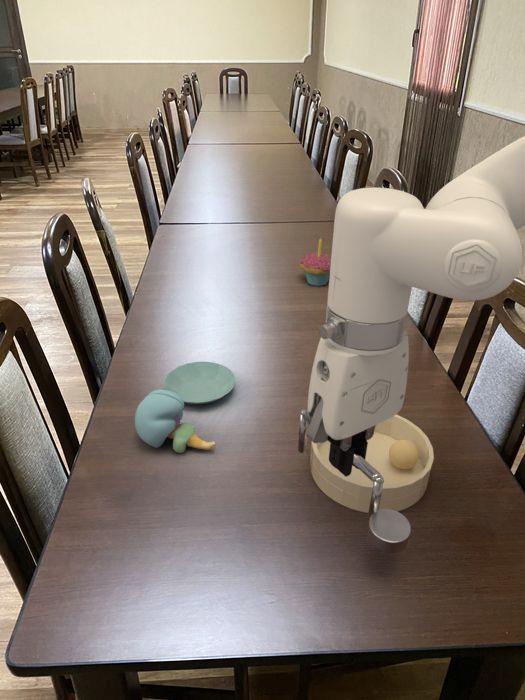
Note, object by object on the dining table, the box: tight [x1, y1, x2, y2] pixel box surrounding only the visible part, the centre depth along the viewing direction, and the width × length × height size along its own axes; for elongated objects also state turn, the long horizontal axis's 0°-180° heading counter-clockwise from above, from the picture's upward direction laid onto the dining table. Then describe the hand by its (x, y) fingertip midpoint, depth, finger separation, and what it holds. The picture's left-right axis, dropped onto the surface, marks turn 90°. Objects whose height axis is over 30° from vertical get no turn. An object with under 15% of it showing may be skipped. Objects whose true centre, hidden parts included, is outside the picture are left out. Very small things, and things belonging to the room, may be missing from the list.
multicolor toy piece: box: [134, 388, 216, 454], centre depth 77 cm, size 7×9×12 cm
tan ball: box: [389, 440, 419, 469], centre depth 74 cm, size 4×4×4 cm
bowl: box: [309, 413, 435, 514], centre depth 74 cm, size 16×16×4 cm
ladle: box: [297, 408, 412, 555], centre depth 61 cm, size 18×4×7 cm, turn 34°
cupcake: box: [299, 236, 331, 287], centre depth 126 cm, size 9×8×12 cm
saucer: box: [163, 361, 236, 405], centre depth 90 cm, size 12×12×2 cm
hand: (346, 464), depth 61 cm, fingers closed on ladle, 1 cm apart
